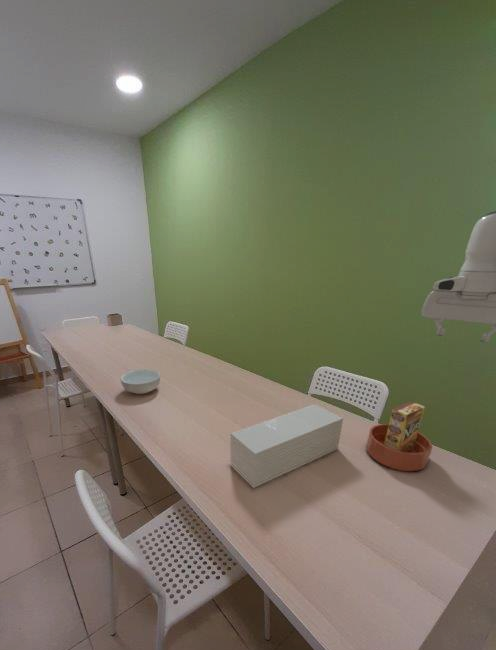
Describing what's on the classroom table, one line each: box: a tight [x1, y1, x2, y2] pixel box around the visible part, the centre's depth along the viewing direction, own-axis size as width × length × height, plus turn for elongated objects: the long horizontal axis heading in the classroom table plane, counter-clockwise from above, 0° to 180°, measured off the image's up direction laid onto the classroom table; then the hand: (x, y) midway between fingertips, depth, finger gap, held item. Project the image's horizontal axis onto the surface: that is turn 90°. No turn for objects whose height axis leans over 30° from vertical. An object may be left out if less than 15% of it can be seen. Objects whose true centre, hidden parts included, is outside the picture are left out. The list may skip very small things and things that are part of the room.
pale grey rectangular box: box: [229, 403, 344, 489], centre depth 86 cm, size 32×11×11 cm, turn 120°
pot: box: [365, 423, 433, 472], centre depth 86 cm, size 15×15×6 cm
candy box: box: [384, 401, 426, 453], centre depth 84 cm, size 9×4×15 cm, turn 120°
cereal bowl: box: [120, 368, 161, 395], centre depth 133 cm, size 17×17×7 cm
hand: (461, 338), depth 80 cm, fingers open, 8 cm apart
